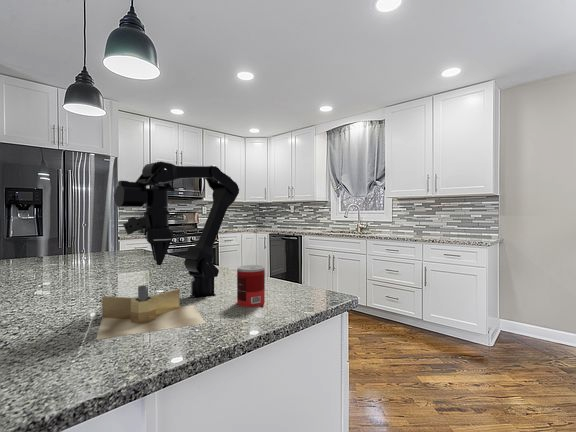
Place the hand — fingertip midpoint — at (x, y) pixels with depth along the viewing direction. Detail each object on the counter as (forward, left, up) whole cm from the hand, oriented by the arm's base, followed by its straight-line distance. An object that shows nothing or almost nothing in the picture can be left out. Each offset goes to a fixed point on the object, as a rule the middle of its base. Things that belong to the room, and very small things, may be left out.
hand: (157, 262), depth 89 cm
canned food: (-24, +11, -13) cm, 29 cm away
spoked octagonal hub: (+4, +11, -12) cm, 16 cm away
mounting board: (+2, +14, -12) cm, 19 cm away
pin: (+4, +13, -12) cm, 18 cm away
